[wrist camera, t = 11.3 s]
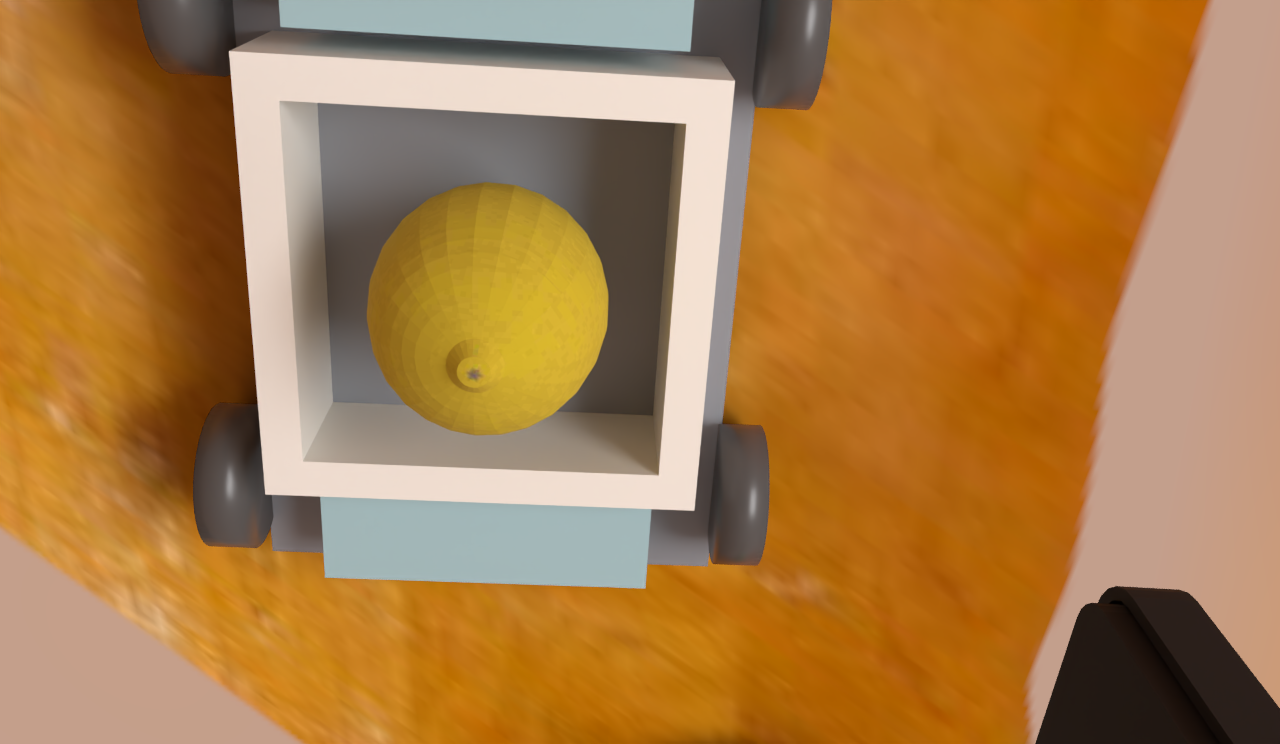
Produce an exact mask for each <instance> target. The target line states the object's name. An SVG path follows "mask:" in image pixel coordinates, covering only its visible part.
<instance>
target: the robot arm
mask: <svg viewBox="0 0 1280 744" xmlns="http://www.w3.org/2000/svg"><path fill="white" fill-rule="evenodd" d="M1035 744H1280V708H1279V707H1278V706H1277V704H1276V703H1275V702H1274V700H1273V699H1272V698H1271V697H1270V695H1269V694H1268V693H1267V691H1266V690H1265V689H1264V687H1263V686H1262V685H1261V683H1260V682H1259V681H1258V680H1257V678H1256V677H1255V676H1254V674H1253V673H1252V672H1251V671H1250V669H1249V668H1248V667H1247V665H1246V664H1245V663H1244V661H1243V660H1242V659H1241V658H1240V656H1239V655H1238V654H1237V652H1236V651H1235V650H1234V648H1233V647H1232V646H1231V645H1230V643H1229V642H1228V641H1227V639H1226V638H1225V637H1224V635H1223V634H1222V633H1221V632H1220V630H1219V629H1218V628H1217V626H1216V625H1215V624H1214V622H1213V621H1212V620H1211V619H1210V617H1209V616H1208V615H1207V613H1206V612H1205V611H1204V610H1203V608H1202V607H1201V606H1200V604H1199V603H1198V602H1197V601H1196V600H1195V599H1194V598H1193V597H1192V596H1191V595H1190V594H1189V593H1187V592H1184V591H1181V590H1172V589H1155V588H1138V587H1120V586H1119V587H1118V586H1116V587H1112V588H1109V589H1107V590H1106V591H1105V592H1104V594H1103V595H1102V596H1101V598H1100V600H1099V602H1098V603H1090V604H1087V605H1085V606H1084V607H1083V608H1082V609H1081V611H1080V613H1079V615H1078V617H1077V619H1076V622H1075V625H1074V628H1073V631H1072V635H1071V638H1070V641H1069V644H1068V647H1067V650H1066V653H1065V656H1064V659H1063V662H1062V665H1061V668H1060V671H1059V674H1058V677H1057V680H1056V683H1055V686H1054V689H1053V692H1052V695H1051V698H1050V701H1049V704H1048V707H1047V710H1046V713H1045V716H1044V719H1043V722H1042V725H1041V728H1040V732H1039V734H1038V737H1037V740H1036V743H1035Z"/></svg>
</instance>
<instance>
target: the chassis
mask: <svg viewBox="0 0 1280 744" xmlns="http://www.w3.org/2000/svg"><path fill="white" fill-rule="evenodd" d="M137 2H138V9H139V14H140V19H141V23H142V27H143V31H144V34H145V37H146V40H147V43H148V46H149V48H150V50H151V52H152V54H153V56H154V58H155V60H156V61H157V63H158V64H159V65H160V67H161V68H162V69H164V70H165V71H166V72H168V73H173V74H190V75H207V76H228V75H230V74H231V83H232V95H233V107H234V119H235V132H236V144H237V156H238V168H239V180H240V192H241V205H242V217H243V229H244V241H245V253H246V266H247V278H248V290H249V302H250V314H251V326H252V339H253V351H254V363H255V375H256V387H257V399H258V404H242V403H218V404H217V405H215V406H214V407H213V408H212V410H211V411H210V413H209V414H208V416H207V418H206V420H205V423H204V426H203V428H202V432H201V435H200V439H199V443H198V448H197V453H196V459H195V468H194V481H193V501H194V513H195V519H196V524H197V528H198V531H199V534H200V536H201V538H202V540H203V542H204V543H205V544H206V545H208V546H219V547H247V548H257V547H259V546H260V545H261V544H262V543H263V542H264V540H265V539H266V537H267V535H268V532H269V530H270V527H271V534H272V546H273V551H291V552H320V553H324V568H325V577H326V578H355V579H384V580H414V581H443V582H472V583H502V584H531V585H560V586H590V587H619V588H645V586H646V573H647V564H660V565H688V566H708V557H709V553H710V558H711V561H712V563H713V564H727V565H758V564H759V562H760V560H761V557H762V554H763V550H764V545H765V539H766V532H767V523H768V510H769V459H768V449H767V442H766V436H765V432H764V430H763V428H762V426H761V425H739V424H722V421H723V411H724V401H725V391H726V382H727V372H728V362H729V352H730V343H731V333H732V323H733V313H734V304H735V294H736V284H737V275H738V265H739V255H740V245H741V236H742V226H743V216H744V206H745V197H746V187H747V177H748V167H749V158H750V148H751V138H752V128H753V119H754V109H755V106H756V107H762V108H780V109H797V110H808V109H809V108H810V107H811V106H812V104H813V102H814V100H815V97H816V95H817V92H818V89H819V85H820V82H821V78H822V73H823V69H824V64H825V59H826V53H827V46H828V39H829V31H830V22H831V10H832V0H137ZM484 182H491V183H501V184H512V185H517V186H520V187H523V188H525V189H528V190H531V191H534V192H536V193H539V194H542V195H544V196H545V197H547V198H548V199H550V200H551V201H553V202H554V203H556V204H557V205H559V206H560V207H562V208H563V209H565V210H566V211H567V212H568V213H569V214H570V215H571V216H572V218H573V219H574V220H575V221H576V222H577V223H578V224H579V225H580V226H581V227H582V228H583V230H584V231H585V232H586V233H587V235H588V237H589V239H590V241H591V243H592V244H593V246H594V248H595V250H596V252H597V254H598V256H599V258H600V260H601V263H602V267H603V271H604V276H605V280H606V284H607V289H608V322H607V330H606V333H605V337H604V340H603V343H602V346H601V349H600V352H599V355H598V358H597V361H596V363H595V365H594V367H593V368H592V370H591V371H590V373H589V375H588V376H587V378H586V379H585V381H584V382H583V384H582V385H581V387H580V388H579V390H578V391H577V393H576V394H575V395H574V396H572V397H571V398H570V399H569V400H568V401H567V402H566V403H565V404H564V405H563V406H562V407H560V408H559V409H558V410H557V411H556V412H555V413H554V414H553V415H551V416H549V417H547V418H545V419H543V420H542V421H540V422H538V423H536V424H534V425H532V426H530V427H528V428H525V429H522V430H518V431H514V432H510V433H506V434H502V435H477V436H476V435H470V434H465V433H460V432H455V431H450V430H448V429H446V428H444V427H441V426H439V425H437V424H435V423H432V422H430V421H428V420H426V419H425V418H423V417H422V416H421V415H419V414H418V413H417V412H415V411H414V410H412V409H411V408H410V407H408V406H407V405H406V404H405V403H404V402H403V401H402V400H401V398H400V397H399V396H398V395H397V393H396V392H395V391H394V390H393V389H392V387H391V386H390V385H389V384H388V383H387V381H386V379H385V377H384V375H383V373H382V371H381V369H380V367H379V365H378V363H377V360H376V358H375V356H374V353H373V350H372V344H371V339H370V334H369V328H368V323H367V305H368V294H369V284H370V279H371V276H372V273H373V271H374V268H375V266H376V263H377V260H378V258H379V255H380V253H381V250H382V247H383V246H384V244H385V243H386V241H387V240H388V239H389V237H390V236H391V235H392V233H393V232H394V231H395V229H396V228H397V227H398V225H399V224H400V223H401V221H402V220H403V219H404V218H405V217H406V216H407V215H409V214H410V213H411V212H413V211H414V210H415V209H416V208H418V207H419V206H420V205H421V204H423V203H424V202H425V201H427V200H428V199H429V198H432V197H434V196H436V195H439V194H441V193H443V192H446V191H448V190H451V189H453V188H455V187H458V186H463V185H470V184H477V183H484Z"/></svg>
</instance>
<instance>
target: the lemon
mask: <svg viewBox="0 0 1280 744" xmlns="http://www.w3.org/2000/svg"><path fill="white" fill-rule="evenodd" d="M607 322H608V289H607V284H606V280H605V276H604V271H603V267H602V263H601V260H600V258H599V256H598V254H597V252H596V250H595V248H594V246H593V244H592V243H591V241H590V239H589V237H588V235H587V233H586V232H585V231H584V230H583V228H582V227H581V226H580V225H579V224H578V223H577V222H576V221H575V220H574V219H573V218H572V216H571V215H570V214H569V213H568V212H567V211H566V210H565V209H563V208H562V207H560V206H559V205H557V204H556V203H554V202H553V201H551V200H550V199H548V198H547V197H545V196H544V195H542V194H539V193H536V192H534V191H531V190H528V189H525V188H523V187H520V186H517V185H512V184H501V183H491V182H484V183H477V184H470V185H463V186H458V187H455V188H453V189H451V190H448V191H446V192H443V193H441V194H439V195H436V196H434V197H432V198H429V199H428V200H427V201H425V202H424V203H423V204H421V205H420V206H419V207H418V208H416V209H415V210H414V211H413V212H411V213H410V214H409V215H407V216H406V217H405V218H404V219H403V220H402V221H401V223H400V224H399V225H398V227H397V228H396V229H395V231H394V232H393V233H392V235H391V236H390V237H389V239H388V240H387V241H386V243H385V244H384V246H383V247H382V250H381V253H380V255H379V258H378V260H377V263H376V266H375V268H374V271H373V273H372V276H371V279H370V284H369V294H368V305H367V323H368V328H369V334H370V339H371V344H372V350H373V353H374V356H375V358H376V360H377V363H378V365H379V367H380V369H381V371H382V373H383V375H384V377H385V379H386V381H387V383H388V384H389V385H390V386H391V387H392V389H393V390H394V391H395V392H396V393H397V395H398V396H399V397H400V398H401V400H402V401H403V402H404V403H405V404H406V405H407V406H408V407H410V408H411V409H412V410H414V411H415V412H417V413H418V414H419V415H421V416H422V417H423V418H425V419H426V420H428V421H430V422H432V423H435V424H437V425H439V426H441V427H444V428H446V429H448V430H450V431H455V432H460V433H465V434H470V435H476V436H477V435H502V434H506V433H510V432H514V431H518V430H522V429H525V428H528V427H530V426H532V425H534V424H536V423H538V422H540V421H542V420H543V419H545V418H547V417H549V416H551V415H553V414H554V413H555V412H556V411H557V410H558V409H559V408H560V407H562V406H563V405H564V404H565V403H566V402H567V401H568V400H569V399H570V398H571V397H572V396H574V395H575V394H576V393H577V391H578V390H579V388H580V387H581V385H582V384H583V382H584V381H585V379H586V378H587V376H588V375H589V373H590V371H591V370H592V368H593V367H594V365H595V363H596V361H597V358H598V355H599V352H600V349H601V346H602V343H603V340H604V337H605V333H606V330H607Z"/></svg>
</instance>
